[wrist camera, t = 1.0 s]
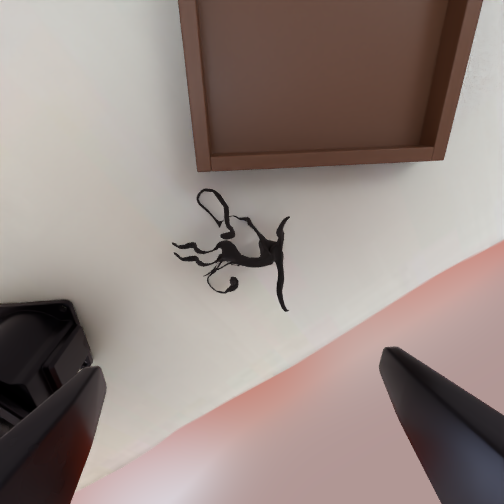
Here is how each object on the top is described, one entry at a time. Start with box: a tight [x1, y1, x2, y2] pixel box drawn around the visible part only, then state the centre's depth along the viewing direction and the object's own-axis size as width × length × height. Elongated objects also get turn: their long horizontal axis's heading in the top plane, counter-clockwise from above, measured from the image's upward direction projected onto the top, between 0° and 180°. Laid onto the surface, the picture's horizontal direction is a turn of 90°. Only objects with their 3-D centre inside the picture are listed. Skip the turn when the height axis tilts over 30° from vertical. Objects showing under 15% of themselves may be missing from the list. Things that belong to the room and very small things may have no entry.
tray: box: [178, 0, 483, 172], centre depth 14 cm, size 15×14×2 cm
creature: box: [172, 189, 290, 312], centre depth 18 cm, size 8×5×8 cm
